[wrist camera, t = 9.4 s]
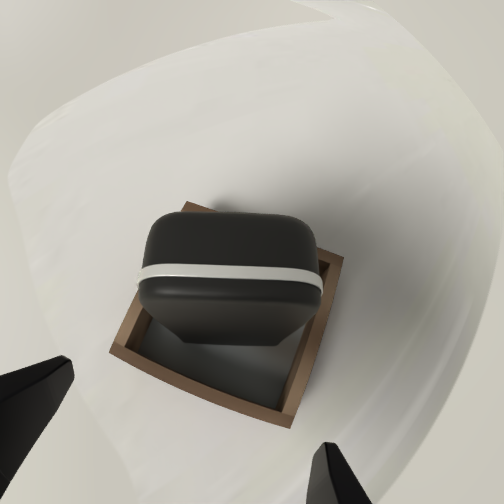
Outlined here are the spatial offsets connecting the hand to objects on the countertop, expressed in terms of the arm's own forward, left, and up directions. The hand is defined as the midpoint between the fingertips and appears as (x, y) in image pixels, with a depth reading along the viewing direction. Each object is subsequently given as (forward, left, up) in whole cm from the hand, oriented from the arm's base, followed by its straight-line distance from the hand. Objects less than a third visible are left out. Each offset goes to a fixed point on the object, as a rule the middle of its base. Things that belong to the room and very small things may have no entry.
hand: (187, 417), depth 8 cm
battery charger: (+6, +1, -10) cm, 12 cm away
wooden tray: (+6, +1, -11) cm, 13 cm away
